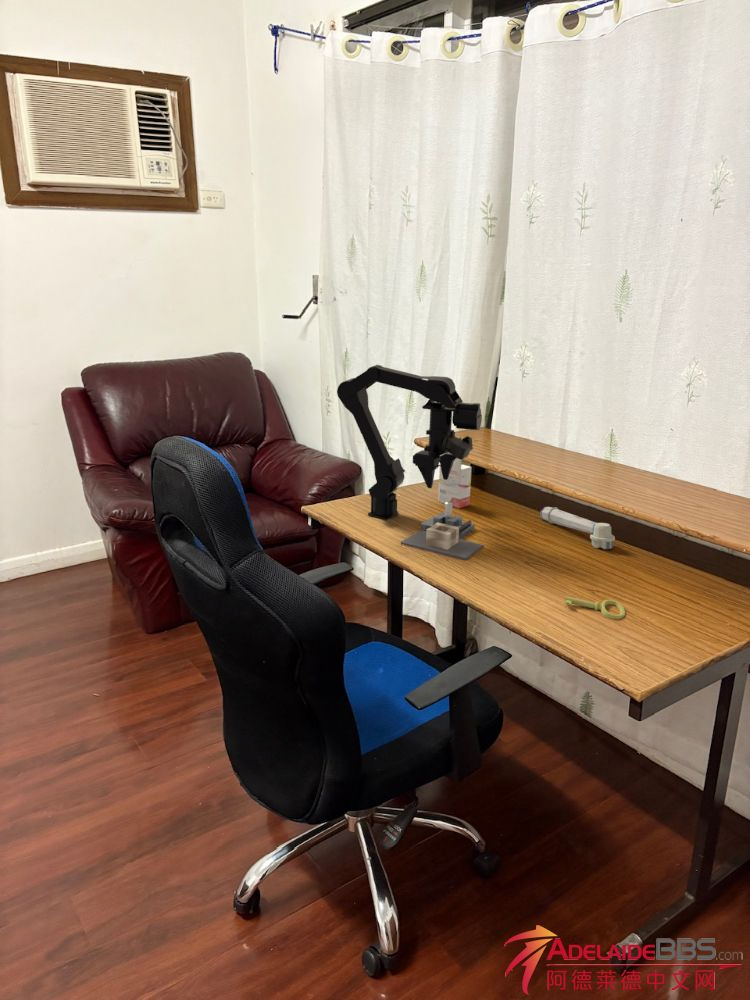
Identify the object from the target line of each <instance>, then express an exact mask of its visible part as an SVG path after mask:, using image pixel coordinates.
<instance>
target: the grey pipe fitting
mask: <svg viewBox="0 0 750 1000" xmlns="http://www.w3.org/2000/svg"><path fill="white" fill-rule="evenodd" d="M539 514H540V515H539V516H540V518H541V519H542V520H543V521H546V522H548V523H549V524H551V525H552V524H555V525H558V526H562V527H567V528H570V529H572V530H577V531H580V532H584V533H588V534H590V535H589V538H590V540H591V546H592V547H593V548H595V549H599V548H601V549H603V550H611V549H613V548H614V541H615V539H616V536H615V535H613V534H612V526H611V525H610V523H606V522H595V521H592V520H589V519H588V518H584V517H580V516H578V515H575V514H572V513H570V512H567V511H563V510H562V509H561V510H560V509H559V508H558V507H556V506H555V507H552V506H551V507H550V506H544V507H543V508H541V510H540V513H539Z"/></svg>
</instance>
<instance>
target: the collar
mask: <svg viewBox="0 0 750 1000" xmlns="http://www.w3.org/2000/svg"><path fill="white" fill-rule="evenodd" d="M425 531H426V530H425ZM458 537H459V527H455V526H451V525H446V524H442V523H436V524H435V525H433V526H431V527H430V528H428V529H427V531H426V545H430V546H434V547H438V548H442V549H446V550H448V549H449V548H451V547H452V546H454V545H455V544H456V543H458V539H459V538H458Z"/></svg>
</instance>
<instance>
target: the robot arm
mask: <svg viewBox="0 0 750 1000" xmlns="http://www.w3.org/2000/svg"><path fill="white" fill-rule="evenodd" d="M376 383H380V384H382V385H383V384H384V385H386V386H391V387H394V388H399V389H404V390H408V391H412V392H415V393H418V394H420V396H422V397H424V398H426V399H428V400H427V402H426V403H424V405H422V406H421V407H422V409H423V410H429V425H428V426H429V428H428V429H426V430H425V434H426V435H427V436H428V444H426V445H425V450H424V449H423V450H422V449H421V450H419V451H418V452H416V453H414V455H412V464H413V465H415V466H416V467H417V469H418V470H419V472H420V474H421V476H422V479H423V481H424V482H425V485H426V488H428V489H433V484H434V480H435V471H436V470H437V469H438V468H440V466H441V471H442V475H443V479H444V480H447V479H448V477H449V474H450V471H451V468H452V466H453V463H454V461H455V459H457V458H458V459H461V460H462V461H463V460H464V459H465V458H468V456H469V455H470V451H473V450H474V447H473V446H474V444H473V439H472V437H471V436H469V435H467V436H465V437H463V438H462V437H456V431H455V430H454V429H452V426H454V427H455V429H461V430H469V431H470V430H471V431H472V430H473V431H479V430H480V429H481V425H482V420H483V419H482V418H483V414H482V409H481V403H479V402H473V403H470V402H464V401H463V399H462V398H461V396H460V395H459V393H458V391H457V390H456V384H455V382H454V380H453V379H452V378H450V377H448V376H436V375H434V376H432V375H431V376H424V375H423V376H422V375H419V374H418V375H417V374H413V373H410V372H405V371H401V370H398V369H393V368H389V367H384V366H382V365H380V364H376V365H373V366H370V367H369V368H367V369H366V370H365V371H364V372H362V373H361V374H359V375H357V376H356V377H353V378H349V379H348V380H344V381H342V382H340V383H339V385H338V386H337V389H336V394H337V395H336V396H337V397H338V399H339V401H340V402H341V403H342V405H343V406H344V408H345V409H346V410H347V411H349V413H351V415H352V416H353V418H354V420H355V422H356V425H357V428H358V429H359V432H360V434H361V435H362V436H361V437H362V439H363V441H364V443H365V444H366V447H367V450H368V452H369V454H370V457H371V459H372V461H373V465H374V477H375V481H376V483H374V484H373V485H372V486H371V487H370V488H368V493H369V496H370V512H368V513H367V516H370V517H375V518H379V519H382V520H389V519H391V518H392V517H394V516H396V515H398V514H399V511H398V499H397V494H396V493H394V492H395V491H397V490H398V488H399V487H400V486H401V485H402V484H403V483H404V480H405V472H406V470H405V469H404V468H403V465H402V463H401V460H400V458H397V459H394V458H393V457H392V456H391V454H390V453H389V451H388V449H387V446H386V444H385V442H384V440H383V437H382V435H381V433H380V431H379V428H378V426H377V423H376V421H375V419H374V416H373V415H372V412H371V410H370V408H369V395H368V391H367V390H368V389H369V388H370V387H372V386H373V385H374V384H376ZM452 424H453V425H452Z"/></svg>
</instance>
